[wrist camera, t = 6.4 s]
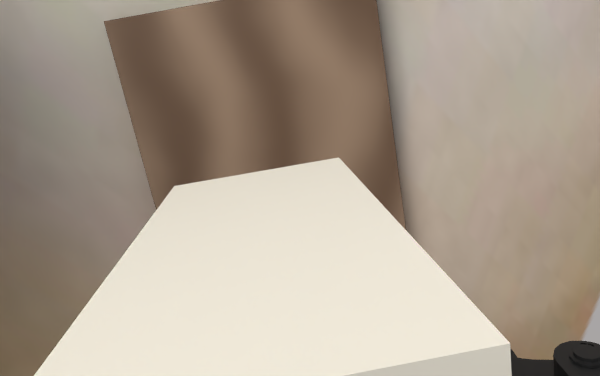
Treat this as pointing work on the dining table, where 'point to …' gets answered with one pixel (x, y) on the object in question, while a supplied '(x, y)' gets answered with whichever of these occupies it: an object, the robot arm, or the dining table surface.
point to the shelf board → (258, 91)
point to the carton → (278, 290)
